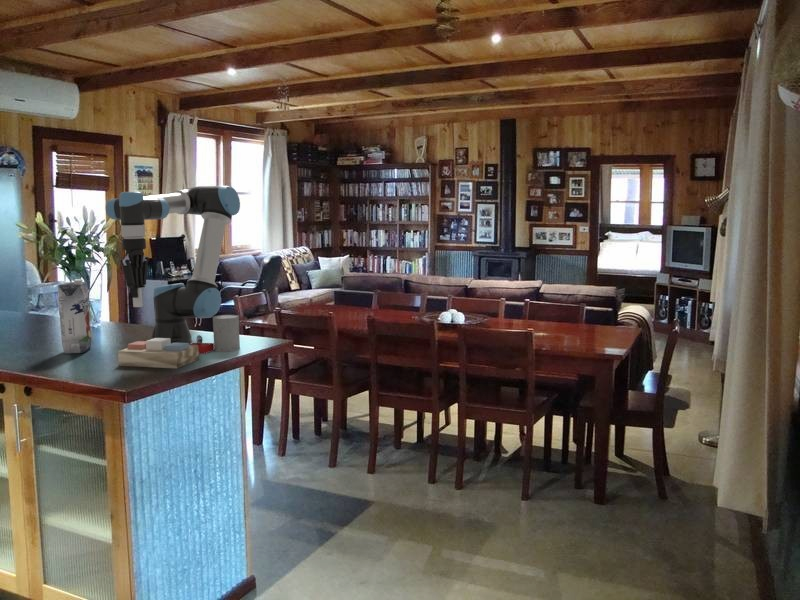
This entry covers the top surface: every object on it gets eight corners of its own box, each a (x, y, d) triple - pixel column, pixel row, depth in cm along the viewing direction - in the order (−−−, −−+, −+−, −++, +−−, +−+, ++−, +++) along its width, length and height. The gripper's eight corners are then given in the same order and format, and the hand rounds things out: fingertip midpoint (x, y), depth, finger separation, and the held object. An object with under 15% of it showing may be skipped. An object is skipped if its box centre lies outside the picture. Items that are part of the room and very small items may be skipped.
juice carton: (60, 354, 258) (55, 281, 255) (69, 348, 268) (64, 278, 265) (86, 353, 260) (81, 280, 256) (93, 347, 270) (88, 277, 266)
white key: (156, 346, 245) (155, 337, 245) (170, 346, 244) (170, 338, 244) (146, 349, 240) (145, 340, 239) (161, 350, 238) (161, 341, 238)
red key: (138, 349, 247) (137, 341, 247) (152, 350, 246) (152, 341, 245) (128, 352, 242) (127, 344, 241) (143, 353, 240) (142, 344, 240)
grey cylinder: (225, 345, 271) (224, 314, 270) (245, 347, 267) (244, 315, 265) (208, 350, 263) (206, 317, 261) (228, 352, 258) (227, 319, 257)
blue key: (174, 351, 244) (174, 342, 244) (189, 351, 243) (189, 343, 242) (165, 354, 238) (164, 345, 238) (180, 355, 237) (180, 346, 237)
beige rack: (143, 357, 252) (142, 343, 251) (198, 359, 247) (198, 345, 246) (118, 365, 238) (117, 351, 238) (177, 368, 233) (176, 353, 233)
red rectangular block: (214, 350, 264) (213, 333, 263) (205, 354, 257) (204, 337, 256) (194, 349, 265) (193, 333, 264) (185, 353, 259) (184, 336, 258)
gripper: (135, 237, 246) (139, 303, 249) (111, 238, 233) (116, 309, 236) (154, 236, 244) (158, 304, 247) (131, 238, 232) (136, 309, 235)
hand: (138, 306), depth 242 cm, fingers closed
